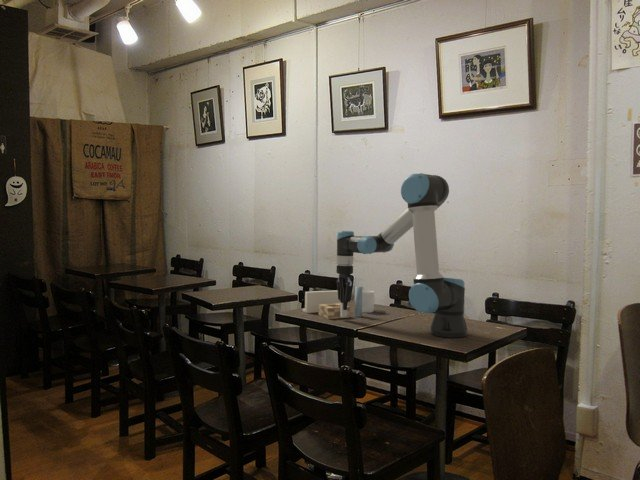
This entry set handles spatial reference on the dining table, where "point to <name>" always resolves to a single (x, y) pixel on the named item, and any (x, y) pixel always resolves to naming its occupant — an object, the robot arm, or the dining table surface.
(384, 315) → the dining table surface
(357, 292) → the dowel
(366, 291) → the cup
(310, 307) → the panel
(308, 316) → the dining table surface
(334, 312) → the block
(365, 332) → the dining table surface
